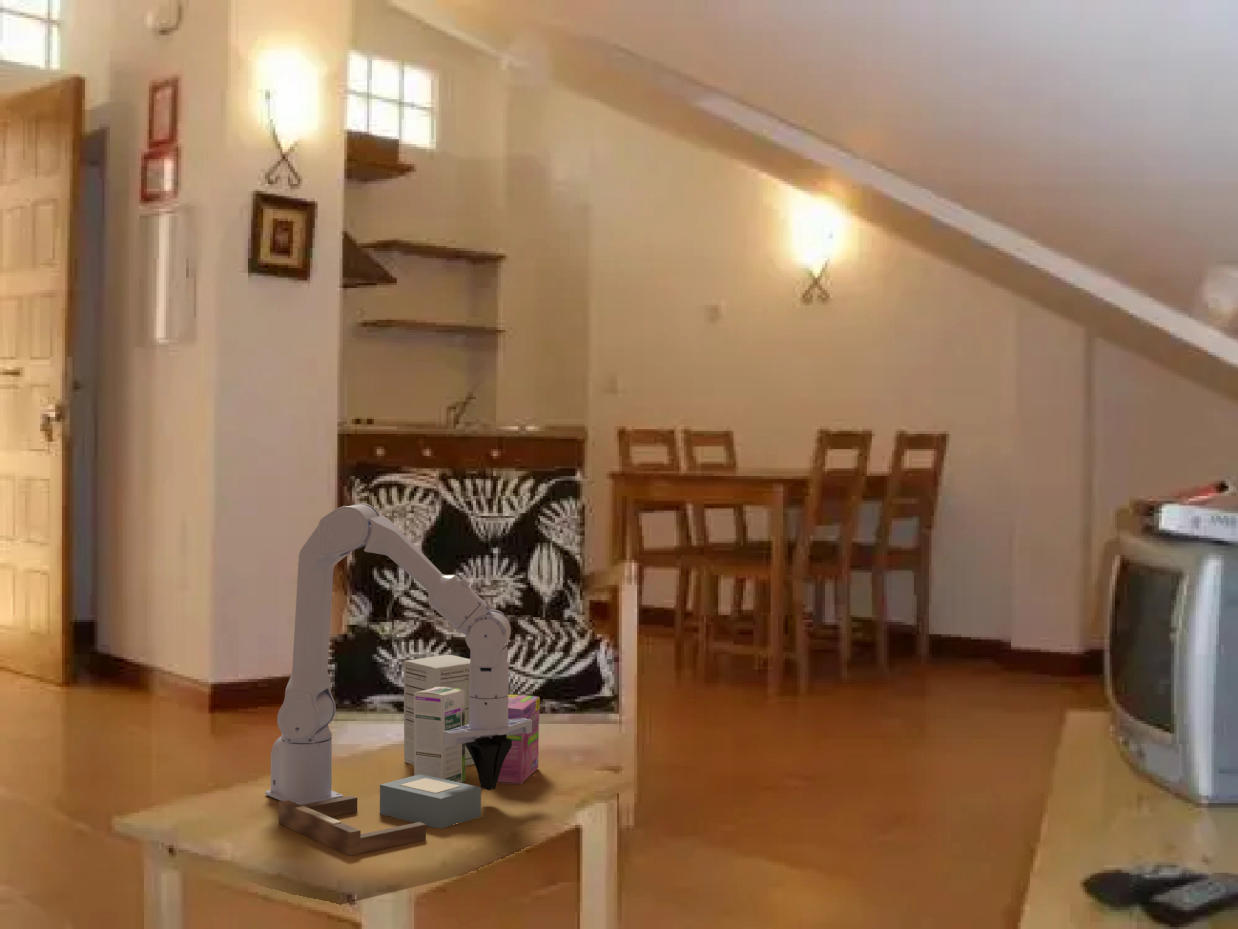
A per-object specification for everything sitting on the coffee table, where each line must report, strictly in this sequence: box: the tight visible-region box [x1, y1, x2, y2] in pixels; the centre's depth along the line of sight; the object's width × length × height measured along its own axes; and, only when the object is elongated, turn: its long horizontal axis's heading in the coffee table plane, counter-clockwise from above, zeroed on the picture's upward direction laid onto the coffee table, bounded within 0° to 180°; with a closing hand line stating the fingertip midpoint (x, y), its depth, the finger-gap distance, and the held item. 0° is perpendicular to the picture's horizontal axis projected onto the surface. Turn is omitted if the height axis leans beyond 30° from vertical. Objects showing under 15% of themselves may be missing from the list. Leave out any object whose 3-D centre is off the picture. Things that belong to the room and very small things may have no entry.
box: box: [497, 694, 541, 785], centre depth 225 cm, size 10×6×12 cm, turn 168°
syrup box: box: [413, 687, 466, 783], centre depth 219 cm, size 6×6×14 cm
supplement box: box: [403, 654, 475, 767], centre depth 232 cm, size 10×9×17 cm
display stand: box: [278, 795, 427, 857], centre depth 193 cm, size 19×12×3 cm, turn 41°
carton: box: [379, 774, 482, 829], centre depth 201 cm, size 12×8×5 cm, turn 53°
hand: (488, 788), depth 208 cm, fingers closed
